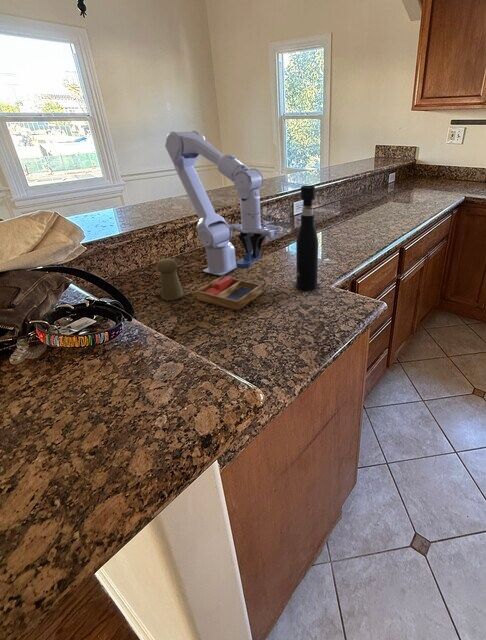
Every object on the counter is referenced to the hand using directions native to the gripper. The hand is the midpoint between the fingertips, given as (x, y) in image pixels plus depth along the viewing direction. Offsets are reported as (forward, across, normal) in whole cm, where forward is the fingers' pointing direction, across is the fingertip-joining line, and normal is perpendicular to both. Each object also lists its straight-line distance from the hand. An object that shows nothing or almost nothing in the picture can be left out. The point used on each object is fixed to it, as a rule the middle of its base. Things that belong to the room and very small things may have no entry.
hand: (253, 256), depth 109 cm
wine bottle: (+8, +17, +3) cm, 19 cm away
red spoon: (+7, -3, -13) cm, 16 cm away
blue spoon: (+1, 0, -2) cm, 3 cm away
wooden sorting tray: (+8, 0, -13) cm, 15 cm away
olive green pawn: (+8, -15, -20) cm, 26 cm away
